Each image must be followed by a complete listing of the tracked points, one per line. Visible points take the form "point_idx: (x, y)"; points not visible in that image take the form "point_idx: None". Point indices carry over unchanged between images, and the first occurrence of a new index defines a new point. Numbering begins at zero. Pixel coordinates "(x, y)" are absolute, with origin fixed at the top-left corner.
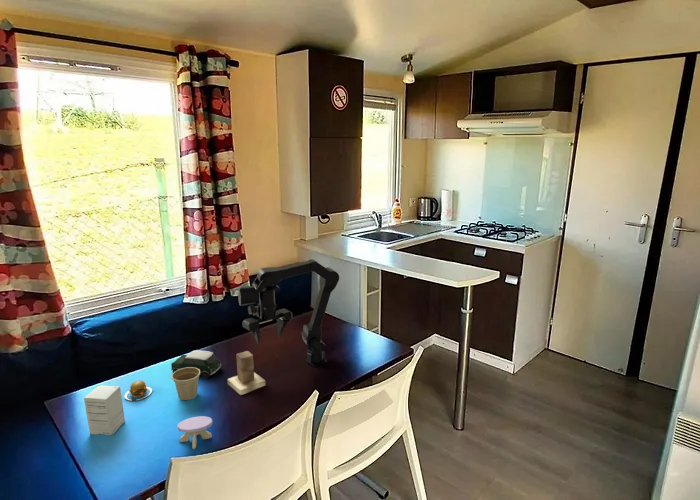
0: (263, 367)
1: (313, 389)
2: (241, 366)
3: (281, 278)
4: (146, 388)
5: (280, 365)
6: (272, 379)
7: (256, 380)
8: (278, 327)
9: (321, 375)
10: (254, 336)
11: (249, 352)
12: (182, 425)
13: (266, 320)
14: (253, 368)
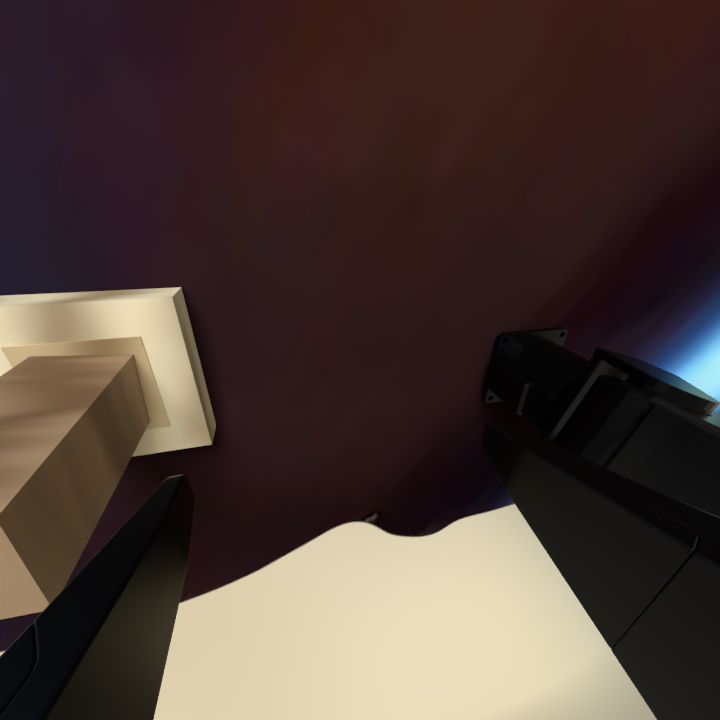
0: (291, 244)
1: (367, 516)
2: None
3: None
4: None
5: (385, 291)
6: (273, 395)
7: (162, 426)
8: (596, 522)
9: (449, 459)
10: (60, 611)
11: (15, 558)
12: None
13: None
14: (115, 483)
